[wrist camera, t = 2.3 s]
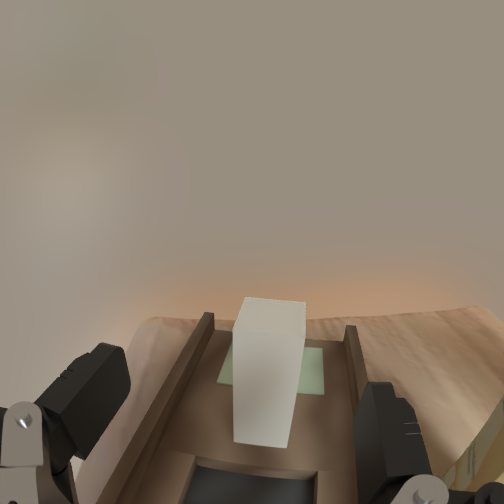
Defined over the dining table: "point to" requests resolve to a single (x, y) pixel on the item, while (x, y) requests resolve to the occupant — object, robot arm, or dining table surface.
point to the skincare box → (481, 457)
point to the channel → (239, 454)
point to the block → (266, 369)
